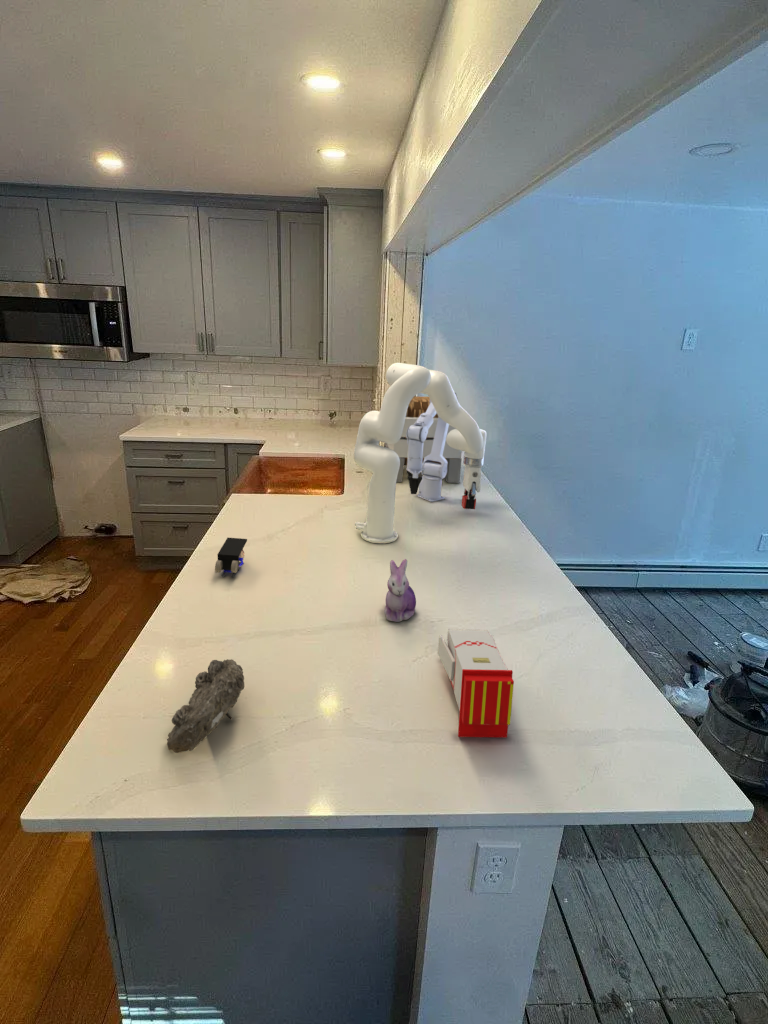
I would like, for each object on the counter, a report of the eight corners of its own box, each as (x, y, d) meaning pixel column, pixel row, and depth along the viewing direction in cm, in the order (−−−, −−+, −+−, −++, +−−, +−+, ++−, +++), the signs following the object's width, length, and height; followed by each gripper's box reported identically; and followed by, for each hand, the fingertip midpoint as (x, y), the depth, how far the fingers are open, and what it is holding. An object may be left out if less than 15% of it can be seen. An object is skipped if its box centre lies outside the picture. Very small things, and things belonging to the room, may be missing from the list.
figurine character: (238, 584, 162) (249, 557, 175) (236, 562, 158) (247, 536, 172) (215, 584, 161) (227, 556, 175) (212, 561, 158) (225, 535, 171)
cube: (475, 509, 221) (476, 499, 219) (463, 508, 220) (464, 498, 219) (472, 505, 225) (473, 495, 223) (461, 505, 224) (462, 495, 223)
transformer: (382, 463, 289) (386, 382, 275) (445, 464, 293) (451, 384, 279) (390, 482, 257) (394, 392, 243) (460, 483, 261) (468, 394, 247)
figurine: (392, 627, 141) (395, 572, 136) (374, 608, 149) (376, 556, 144) (425, 619, 145) (429, 566, 140) (405, 601, 154) (408, 550, 149)
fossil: (192, 660, 117) (244, 628, 112) (224, 691, 120) (276, 661, 115) (142, 746, 98) (202, 712, 93) (182, 779, 101) (242, 748, 96)
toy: (488, 613, 130) (523, 677, 101) (484, 667, 133) (517, 744, 104) (435, 612, 130) (455, 676, 101) (432, 666, 133) (451, 743, 103)
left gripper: (488, 467, 209) (482, 514, 215) (478, 456, 225) (472, 500, 231) (468, 466, 208) (462, 513, 214) (459, 455, 224) (454, 499, 230)
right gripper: (427, 462, 209) (424, 497, 214) (424, 452, 223) (421, 485, 228) (408, 461, 209) (406, 496, 214) (406, 452, 223) (404, 485, 227)
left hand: (468, 506), depth 222 cm, fingers closed on cube, 4 cm apart
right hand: (413, 490), depth 221 cm, fingers open, 7 cm apart
